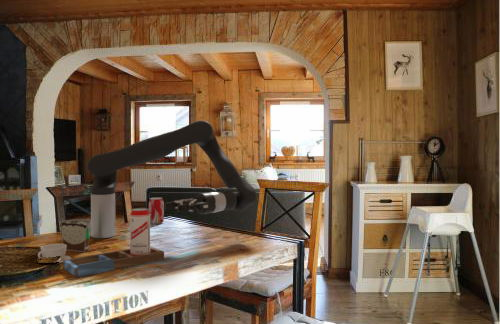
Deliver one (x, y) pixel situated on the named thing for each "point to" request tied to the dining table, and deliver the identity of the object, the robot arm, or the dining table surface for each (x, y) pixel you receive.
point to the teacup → (54, 251)
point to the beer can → (139, 231)
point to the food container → (76, 234)
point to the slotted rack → (108, 261)
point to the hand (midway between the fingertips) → (171, 207)
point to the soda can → (156, 210)
